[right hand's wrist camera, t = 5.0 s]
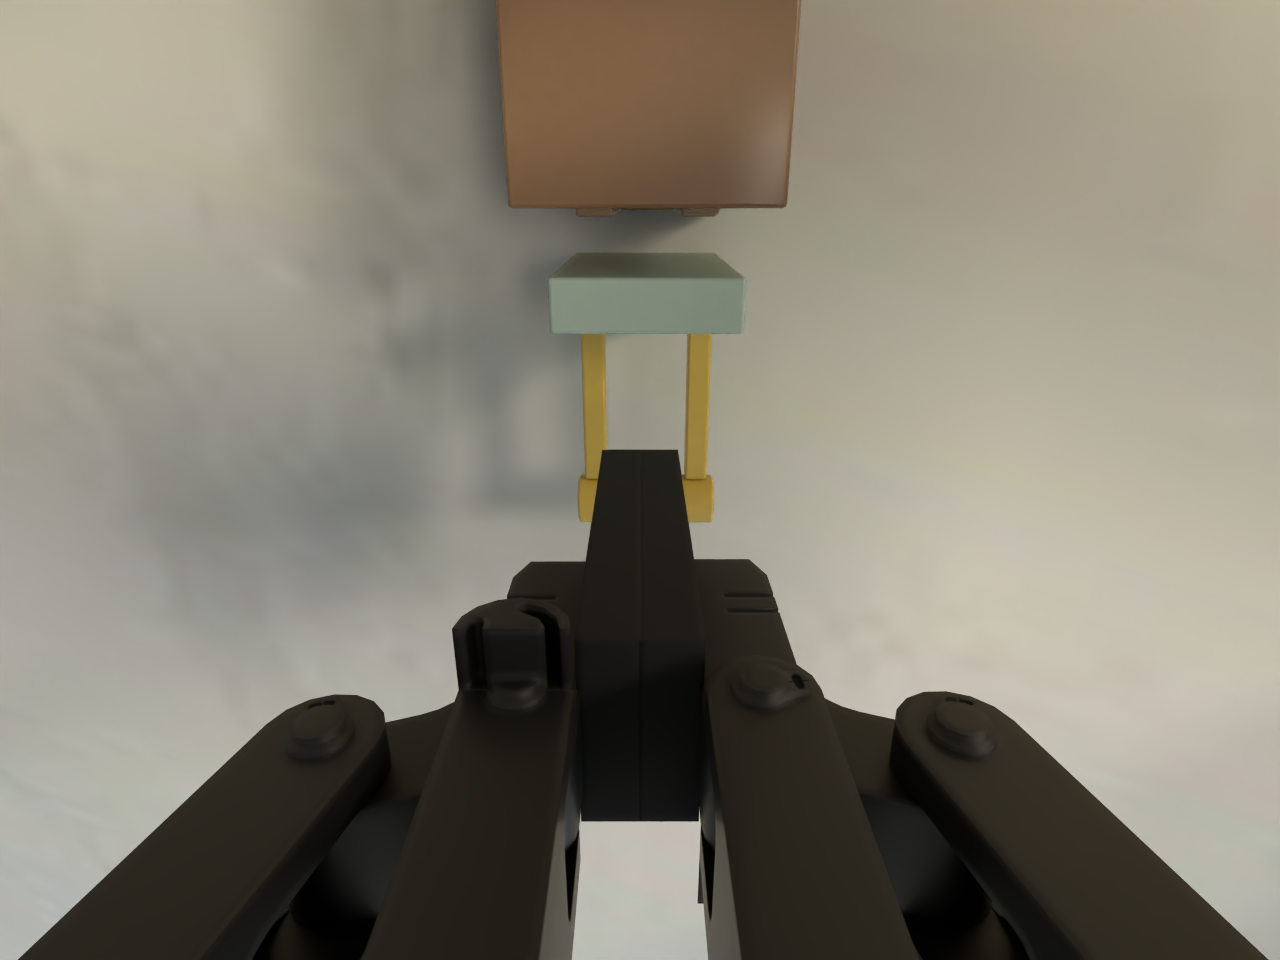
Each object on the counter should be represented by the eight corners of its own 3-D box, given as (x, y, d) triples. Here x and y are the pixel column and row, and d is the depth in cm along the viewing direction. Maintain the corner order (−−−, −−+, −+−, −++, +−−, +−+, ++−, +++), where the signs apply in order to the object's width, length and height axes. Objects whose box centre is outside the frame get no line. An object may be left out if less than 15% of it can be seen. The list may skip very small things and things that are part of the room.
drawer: (708, 475, 24) (731, 575, 18) (582, 474, 24) (560, 575, 18) (749, -632, 15) (826, -1234, 9) (547, -632, 15) (478, -1232, 9)
